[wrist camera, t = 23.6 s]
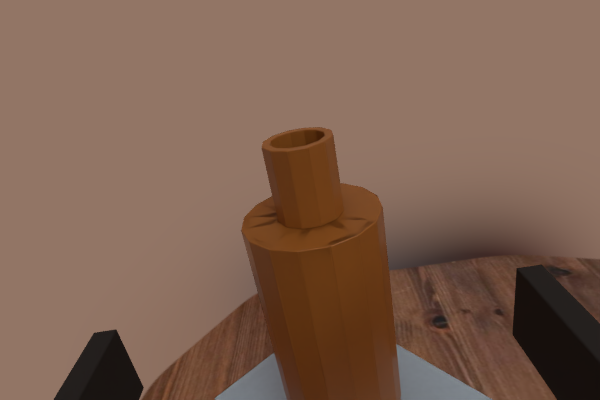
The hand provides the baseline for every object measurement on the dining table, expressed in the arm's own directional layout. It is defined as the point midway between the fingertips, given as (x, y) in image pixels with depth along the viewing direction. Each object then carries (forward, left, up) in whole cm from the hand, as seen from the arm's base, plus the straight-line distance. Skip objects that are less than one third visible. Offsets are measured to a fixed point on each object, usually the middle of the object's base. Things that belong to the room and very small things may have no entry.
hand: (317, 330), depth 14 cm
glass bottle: (-6, +6, -14) cm, 16 cm away
